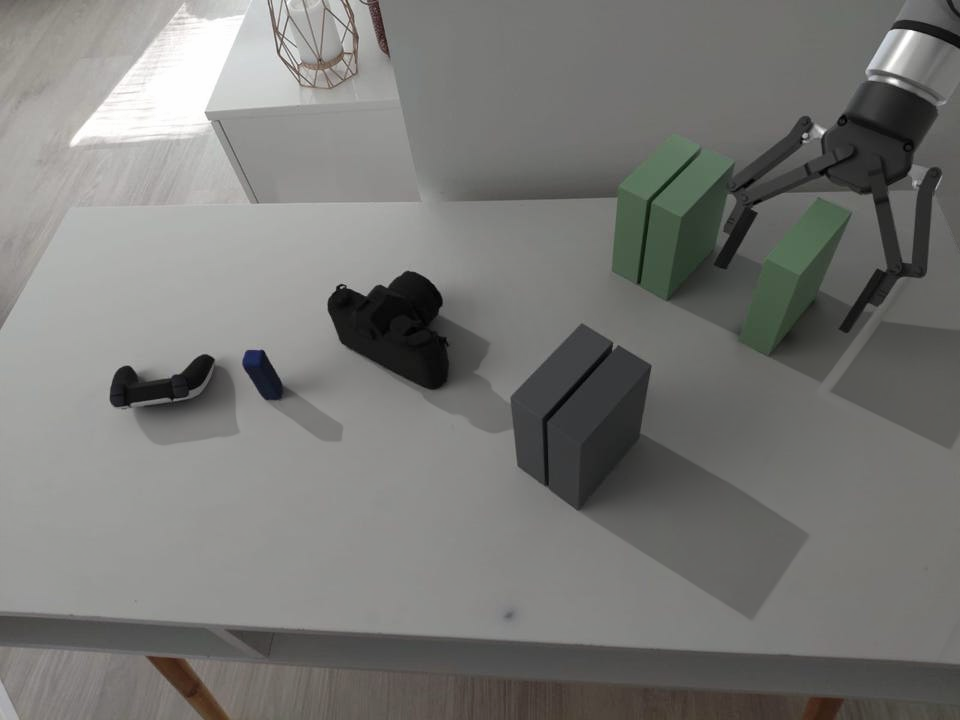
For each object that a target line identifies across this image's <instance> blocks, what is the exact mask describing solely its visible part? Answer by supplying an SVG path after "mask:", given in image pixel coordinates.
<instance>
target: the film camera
mask: <svg viewBox="0 0 960 720" xmlns="http://www.w3.org/2000/svg"><path fill="white" fill-rule="evenodd" d="M341 287H342V288H341ZM326 305H327V313H328V315H329V316H330V319H331V321H332V324H333V327H334V329H335V331H336V334H337V336H338V340H339V342H340V343H341V345H344V346H345V347H346V348H347V349H350V350H353V351H354V352H356V353H357V354H359V355H361V356H363V357H364V358H366V359H368V360H370V361H372V362H374V363H376V364H378V365H379V366H381V367H382V368H384V369H386V370H389V371H390V372H392V373H394V374H396V375H398V376H400V377H401V378H404V380H407V381H409V382H412V383H413V384H416V385H417V386H420V387H422V388H423V389H424V388H425V389H427V390H436V389H439V388H441V387H442V386H444V384H445V383H446V382H447V381H448V375H449V367H450V361H449V353H448V350H447V348H449V347H450V343H449V342H448V337H446V336H442V335H439V333H438V332H437V331H436V330H434V329H431V328H429V327H430V324H431V323H432V322H433V321H435V319H436V318H437V316H439V313H440V309H441V308H442V307H443V305H444V300H443V296H442V294H441V292H440V291H439V289H438V287H436V285H435V284H434V283H433V282H432V281H431V280H430V279H428V277H426V276H424V275H422V274H420V273H418V272H416V271H411V270H405V271H404V272H403V273H401V275H398V276H397V277H395V278H394V279H393V280H392V281H391V282H390V283H389V285H388V286H387V287H386V286H384V285H382V284H377V285H374V287H373V288H372V289H371V290H370V292H368V294H367V295H364V294H362V293H360V292H358V291H355V290H354V289H352V288H349V287H348V285H347V284H344V283H340V284H337V286H335V290H334V291H333V292H332V293H331V295H330V296H329V298H328V299H327V303H326Z"/></svg>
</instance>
